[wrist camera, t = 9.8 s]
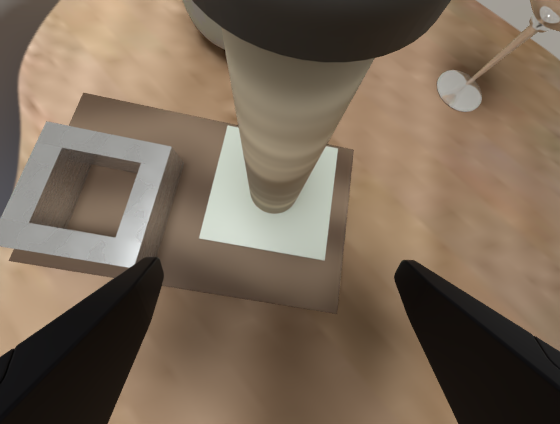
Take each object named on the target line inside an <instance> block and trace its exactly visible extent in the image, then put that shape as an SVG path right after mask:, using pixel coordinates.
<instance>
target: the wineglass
mask: <svg viewBox="0 0 560 424" xmlns="http://www.w3.org/2000/svg"><path fill="white" fill-rule="evenodd" d="M530 2H531V6H532V10H533V13H534V14H533V15H532V16H531V19H530V25H529V26H528V27H527V28H526V29H525V30H524V31H523V32H521V33H520V34H519V35H518V36H517V37H516V38H515V39H514V40H513V41H511V42H510V43H509V44H508V45H507V46H506V47H505V48H504V49H503V50H502V51H500V52H499V53H498V54H497V55H496V56H495V57H494V58H493V59H492V60H491V61H489V62H488V63H487V64H486V65H485V66H484V67H483V68H482V69H481V70H479V71H478V72H477V73H476V74H475V75H474V76H473V77H471V76H469V75H468V74H466V73H464V72H461V71H457V70H450V71H446V72H444V73H442V75H441V76H440V77H439V79H438V82H437V88H438V92H439V94H440V97H441V98H442V99H443V101H444V102H445V103H446V104H448V105H449V106H450V107H451V108H454V109H456V110H458V111H464V112H467V111H472V110H474V109H476V108H477V107H478V106H479V105H480V103H481V99H482V94H481V90H480V87H479V85H478V84H477V82H476V81H475V80H476V79H477V78H479V77H480V76H481V75H483V74H484V73H485V72H486V71H488V70H489V69H490V68H492V67H493V66H494V65H496V64H497V63H498V62H499V61H501V60H502V59H503V58H505V57H506V56H507V55H509V54H510V53H511V52H512V51H514V50H515V49H516V48H518V47H519V46H520V45H522V44H523V43H524V42H525V41H527V40H528V39H529V38H531V37H532V36H533V35H534V34H536V33H537V32H546V31H549V30H551V29H553V30H556V31H560V0H530Z"/></svg>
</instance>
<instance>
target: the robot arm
mask: <svg viewBox="0 0 560 424" xmlns="http://www.w3.org/2000/svg"><path fill="white" fill-rule="evenodd" d="M394 279H395V283H396V285H397V288H398V291H399V294H400V297H401V299H402V302H403V305H404V308H405V310H406V313H407V316H408V318H409V320H410V323H411V325H412V327H413V329H414V331H415V333H416V335H417V337H418V340H419V342H420V344H421V346H422V348H423V350H424V352H425V354H426V356H427V359H428V361H429V363H430V365H431V367H432V369H433V371H434V373H435V375H436V378H437V380H438V382H439V384H440V386H441V388H442V390H443V392H444V394H445V397H446V399H447V401H448V403H449V405H450V407H451V409H452V411H453V413H454V416H455V418H456V420H457V422H458V424H560V351H558V350H556V349H555V348H553V347H552V346H550V345H548V344H547V343H545V342H544V341H542V340H540V339H539V338H537V337H536V336H533V335H532V334H531V333H529V332H528V331H526V330H524V329H523V328H521V327H520V326H518V325H517V324H515V323H513V322H512V321H510V320H509V319H507V318H505V317H504V316H502V315H501V314H499V313H497V312H496V311H494V310H493V309H491V308H489V307H488V306H486V305H485V304H483V303H481V302H480V301H478V300H477V299H475V298H473V297H472V296H470V295H469V294H467V293H466V292H464V291H462V290H461V289H459V288H458V287H456V286H454V285H453V284H451V283H450V282H448V281H446V280H445V279H443V278H442V277H440V276H438V275H437V274H435V273H434V272H432V271H431V270H429V269H427V268H426V267H424V266H423V265H421V264H419V263H418V262H416V261H414V260H403V261H401V263H400V265H399V267H398V269H397V271H396V273H395V275H394ZM163 280H164V271H163V268H162V265H161V261H160V259H159V257H144V258H143V259H141V260H140V261H138V262H137V263H136V264H134V265H133V266H131V267H130V268H128V269H127V270H125V271H124V272H123V273H121V274H120V275H118V276H117V277H115V278H114V279H112V280H111V281H110V282H108V283H107V284H105V285H104V286H102V287H101V288H99V289H98V290H97V291H95V292H94V293H92V294H91V295H89V296H88V297H86V298H85V299H83V300H82V301H81V302H79V303H78V304H76V305H75V306H73V307H72V308H70V309H69V310H68V311H66V312H65V313H63V314H62V315H60V316H59V317H57V318H56V319H55V320H53V321H52V322H50V323H49V324H47V325H46V326H44V327H43V328H42V329H40V330H39V331H37V332H36V333H34V334H33V335H31V336H30V337H29V338H27V339H26V340H24V341H23V342H21V343H20V344H18V345H17V346H16V347H15V349H11V350H10V351H8V352H7V353H5V354H4V355H2V356H1V357H0V424H108V422H109V419H110V417H111V415H112V412H113V410H114V407H115V405H116V403H117V400H118V398H119V396H120V393H121V391H122V389H123V386H124V384H125V382H126V379H127V377H128V374H129V372H130V370H131V367H132V365H133V363H134V360H135V358H136V356H137V353H138V351H139V349H140V346H141V344H142V341H143V339H144V337H145V334H146V332H147V330H148V327H149V325H150V322H151V319H152V316H153V313H154V310H155V306H156V303H157V300H158V296H159V293H160V290H161V286H162V283H163Z"/></svg>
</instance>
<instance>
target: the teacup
mask: <svg viewBox="0 0 560 424" xmlns="http://www.w3.org/2000/svg"><path fill="white" fill-rule="evenodd" d="M183 3H184V5H185V7H186V10H187V12H188V14H189V16H190V18H191V19H192V21H193V23H194V24H195V26H196V27H197V28H198V30H199V31H200V32H201V33H202V34H203V35H204V36H205V37H206V38H207V39H208V40H210V41H211V42H212V43H213V44H215V45H217V46H218V47H220V48H222V49H225V47H224V41H223V35H222V29H221V26H219V25H218V24H217V23H216V22H214V21H213V20H212V19H210V18H209V17H208V16H207V15H206V14H205V13H204V12H203V11H202V10H201V9H200V8H199V7H198V6H197V5H196V4H195V3H194V2H193V1H192V0H183Z"/></svg>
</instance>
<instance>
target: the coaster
mask: <svg viewBox="0 0 560 424" xmlns="http://www.w3.org/2000/svg"><path fill="white" fill-rule="evenodd" d="M337 153H338V148H333V147H329V146H326V147H325V149H324V151H323V152H322V154H321V156H320V158H319V160H318V161H317V163H316V165H315V167H314V169H313V170H312V172H311V174H310V176H309V178H308V179H307V181H306V183H305V185H304V187H303V189H302V190H301V192H300V194H299V196H298V198H297V199H296V201H295V203H294V204H293V206H292V207H291V208H289V209H288V210H287V211H284V212H282V213H277V214H271V213H267V212H264V211H262V210H261V209H259V208H258V207H257V206H256V205H255V204H254V202H253V201H252V198H251V195H250V190H249V184H248V178H247V173H246V167H245V161H244V155H243V150H242V144H241V138H240V132H239V128H238V127H233V126H229V125H228V126H227V130H226V134H225V138H224V142H223V146H222V150H221V153H220V157H219V161H218V165H217V169H216V173H215V177H214V181H213V185H212V189H211V193H210V197H209V201H208V205H207V209H206V212H205V216H204V220H203V224H202V228H201V232H200V236H199V238H200V239H204V240H210V241H215V242H221V243H227V244H232V245H238V246H244V247H249V248H255V249H261V250H266V251H272V252H278V253H283V254H289V255H295V256H300V257H306V258H312V259H317V260H325V254H326V245H327V237H328V229H329V220H330V212H331V203H332V195H333V187H334V178H335V170H336V161H337Z"/></svg>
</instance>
